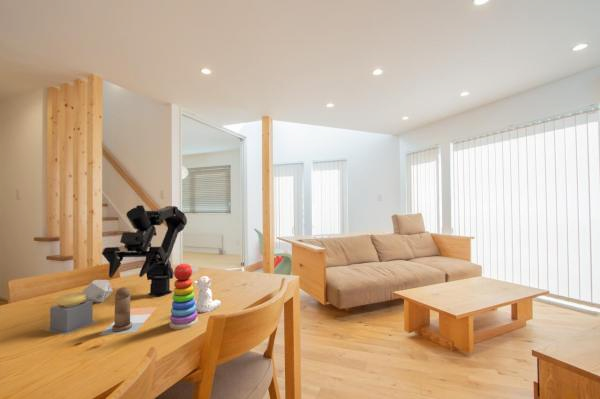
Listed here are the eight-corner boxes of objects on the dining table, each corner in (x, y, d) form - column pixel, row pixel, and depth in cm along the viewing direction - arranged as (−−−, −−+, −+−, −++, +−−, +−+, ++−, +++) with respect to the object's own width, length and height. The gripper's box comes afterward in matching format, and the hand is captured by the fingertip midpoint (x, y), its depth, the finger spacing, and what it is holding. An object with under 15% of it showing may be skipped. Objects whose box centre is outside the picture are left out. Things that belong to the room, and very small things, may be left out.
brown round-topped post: (125, 323, 82) (125, 284, 83) (135, 326, 80) (136, 286, 81) (108, 330, 78) (109, 288, 78) (119, 333, 76) (119, 290, 76)
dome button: (75, 315, 85) (76, 291, 85) (90, 318, 83) (91, 293, 83) (51, 324, 79) (52, 298, 79) (67, 327, 77) (67, 300, 77)
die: (88, 308, 98) (108, 284, 101) (71, 295, 100) (92, 272, 103) (103, 309, 106) (121, 286, 109) (87, 296, 107) (106, 275, 110)
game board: (129, 310, 94) (129, 308, 94) (157, 309, 96) (157, 306, 96) (98, 337, 75) (98, 334, 75) (134, 335, 77) (134, 332, 77)
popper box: (77, 320, 87) (77, 297, 87) (98, 323, 84) (98, 300, 84) (43, 332, 78) (43, 308, 78) (65, 337, 75) (65, 311, 76)
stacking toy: (175, 320, 86) (175, 261, 87) (201, 319, 87) (201, 260, 87) (164, 332, 78) (165, 266, 79) (193, 331, 79) (194, 266, 79)
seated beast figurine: (221, 305, 100) (221, 272, 100) (218, 314, 91) (218, 278, 92) (193, 306, 98) (194, 273, 98) (188, 316, 90) (188, 279, 90)
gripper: (105, 223, 92) (81, 262, 81) (163, 222, 93) (147, 261, 82) (119, 243, 100) (98, 282, 89) (172, 242, 101) (158, 281, 90)
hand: (125, 276), depth 87 cm, fingers open, 9 cm apart
